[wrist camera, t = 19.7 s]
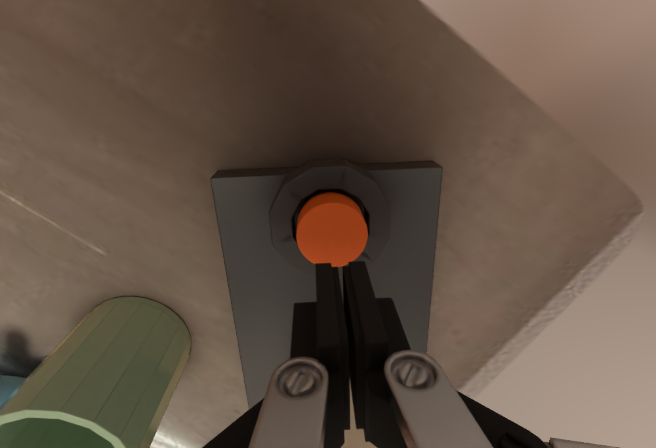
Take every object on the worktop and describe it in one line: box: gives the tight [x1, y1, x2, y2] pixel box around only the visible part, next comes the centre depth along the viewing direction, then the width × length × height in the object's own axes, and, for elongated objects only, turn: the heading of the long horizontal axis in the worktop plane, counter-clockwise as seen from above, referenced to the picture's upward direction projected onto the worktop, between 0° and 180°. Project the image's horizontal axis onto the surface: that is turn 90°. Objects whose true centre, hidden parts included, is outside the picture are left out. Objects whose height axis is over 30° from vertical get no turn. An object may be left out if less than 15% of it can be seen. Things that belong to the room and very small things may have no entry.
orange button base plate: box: [211, 159, 443, 409], centre depth 23 cm, size 19×13×4 cm
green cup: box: [0, 296, 191, 448], centre depth 21 cm, size 7×7×9 cm
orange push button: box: [296, 192, 368, 267], centre depth 19 cm, size 4×4×2 cm
